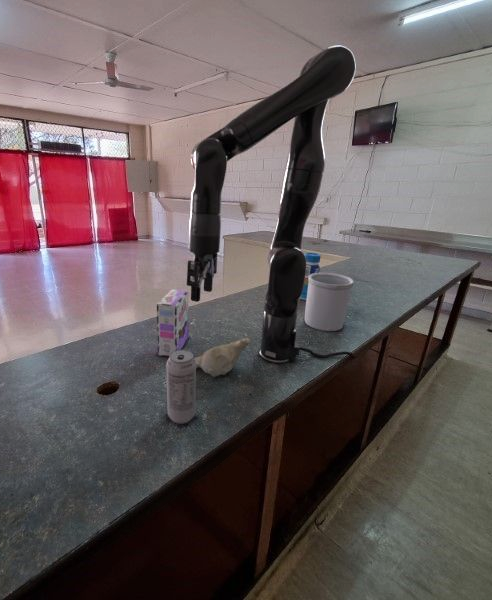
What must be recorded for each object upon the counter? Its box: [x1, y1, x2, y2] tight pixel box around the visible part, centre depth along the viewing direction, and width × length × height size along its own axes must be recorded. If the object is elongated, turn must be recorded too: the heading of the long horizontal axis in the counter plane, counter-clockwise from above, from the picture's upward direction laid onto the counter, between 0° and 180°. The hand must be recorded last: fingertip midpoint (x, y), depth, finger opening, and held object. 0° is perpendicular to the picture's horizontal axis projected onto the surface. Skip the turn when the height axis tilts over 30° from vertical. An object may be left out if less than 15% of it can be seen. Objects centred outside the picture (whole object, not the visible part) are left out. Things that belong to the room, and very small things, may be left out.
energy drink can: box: [165, 349, 197, 425], centre depth 66 cm, size 6×6×15 cm
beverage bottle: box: [299, 252, 321, 301], centre depth 140 cm, size 8×8×20 cm
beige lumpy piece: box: [193, 337, 251, 378], centre depth 85 cm, size 15×7×15 cm
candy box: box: [156, 288, 189, 358], centre depth 95 cm, size 14×6×16 cm, turn 168°
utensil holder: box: [304, 272, 354, 332], centre depth 114 cm, size 15×15×18 cm
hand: (201, 295), depth 81 cm, fingers open, 8 cm apart
